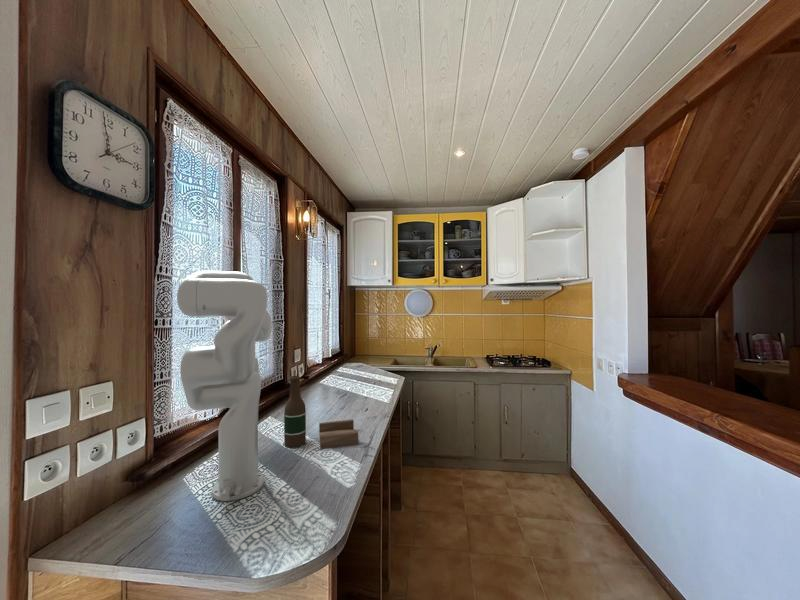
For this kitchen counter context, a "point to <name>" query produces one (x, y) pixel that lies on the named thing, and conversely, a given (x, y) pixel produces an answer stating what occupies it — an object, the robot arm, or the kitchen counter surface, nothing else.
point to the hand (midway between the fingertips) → (243, 408)
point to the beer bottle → (295, 416)
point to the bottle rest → (337, 434)
